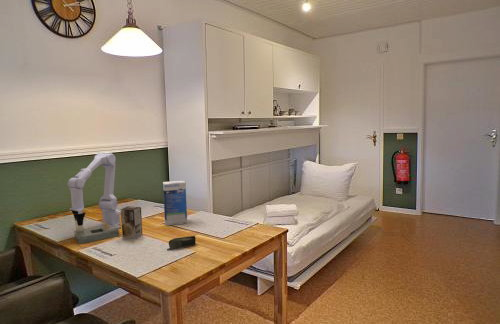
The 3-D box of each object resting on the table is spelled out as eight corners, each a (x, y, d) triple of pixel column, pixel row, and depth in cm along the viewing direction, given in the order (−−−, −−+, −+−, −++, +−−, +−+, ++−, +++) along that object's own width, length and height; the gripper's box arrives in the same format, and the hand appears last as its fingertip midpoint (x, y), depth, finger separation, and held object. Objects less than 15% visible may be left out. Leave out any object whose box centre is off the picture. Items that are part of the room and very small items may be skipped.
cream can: (83, 228, 192) (82, 216, 191) (84, 230, 189) (83, 218, 188) (75, 230, 190) (74, 218, 189) (76, 232, 186) (75, 220, 185)
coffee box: (143, 235, 191) (141, 206, 189) (135, 239, 185) (134, 209, 183) (129, 233, 194) (127, 205, 192) (121, 237, 188) (120, 208, 186)
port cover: (117, 225, 198) (116, 219, 198) (121, 228, 192) (120, 223, 191) (103, 227, 194) (103, 222, 193) (106, 231, 187) (106, 225, 187)
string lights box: (185, 220, 218) (184, 180, 215) (187, 223, 211) (186, 182, 208) (164, 222, 214) (162, 181, 211) (165, 226, 207) (163, 183, 204)
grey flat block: (112, 229, 201) (112, 223, 201) (118, 236, 190) (118, 229, 190) (74, 236, 190) (74, 230, 189) (79, 244, 178) (78, 237, 178)
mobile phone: (194, 234, 177) (165, 239, 170) (196, 236, 175) (167, 241, 167) (194, 243, 178) (165, 249, 170) (196, 245, 175) (167, 251, 168)
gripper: (67, 198, 190) (68, 221, 192) (71, 203, 179) (73, 228, 180) (81, 196, 195) (82, 219, 196) (86, 201, 183) (87, 225, 184)
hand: (79, 223), depth 189 cm, fingers open, 7 cm apart
